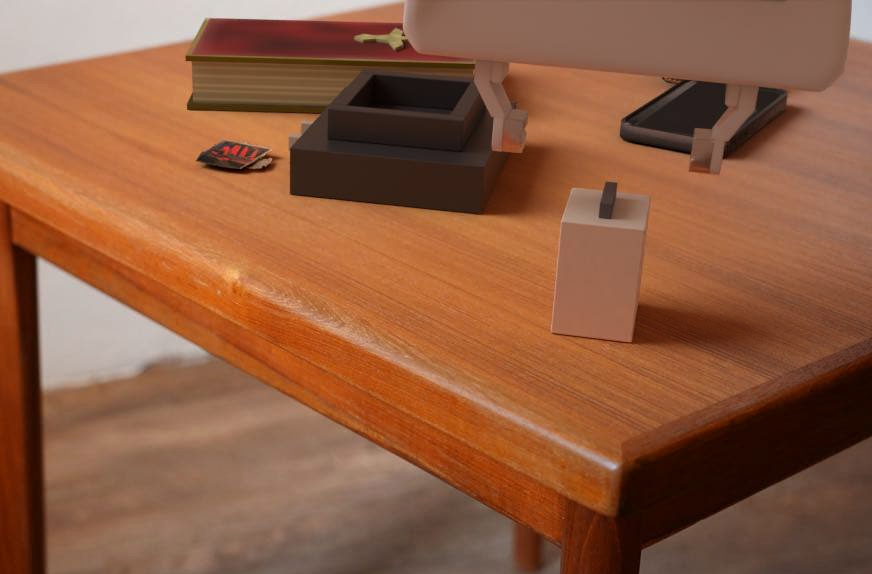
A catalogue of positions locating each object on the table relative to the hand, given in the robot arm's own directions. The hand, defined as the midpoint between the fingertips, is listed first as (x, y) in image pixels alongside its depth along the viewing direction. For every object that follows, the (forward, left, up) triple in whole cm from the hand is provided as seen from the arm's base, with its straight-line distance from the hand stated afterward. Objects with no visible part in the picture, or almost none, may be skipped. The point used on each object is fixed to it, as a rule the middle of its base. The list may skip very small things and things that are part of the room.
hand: (604, 159), depth 70 cm
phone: (-5, -36, -9) cm, 37 cm away
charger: (0, 0, -9) cm, 9 cm away
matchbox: (+25, -18, -9) cm, 32 cm away
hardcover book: (+23, -36, -9) cm, 44 cm away
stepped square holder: (+14, -20, -9) cm, 26 cm away
